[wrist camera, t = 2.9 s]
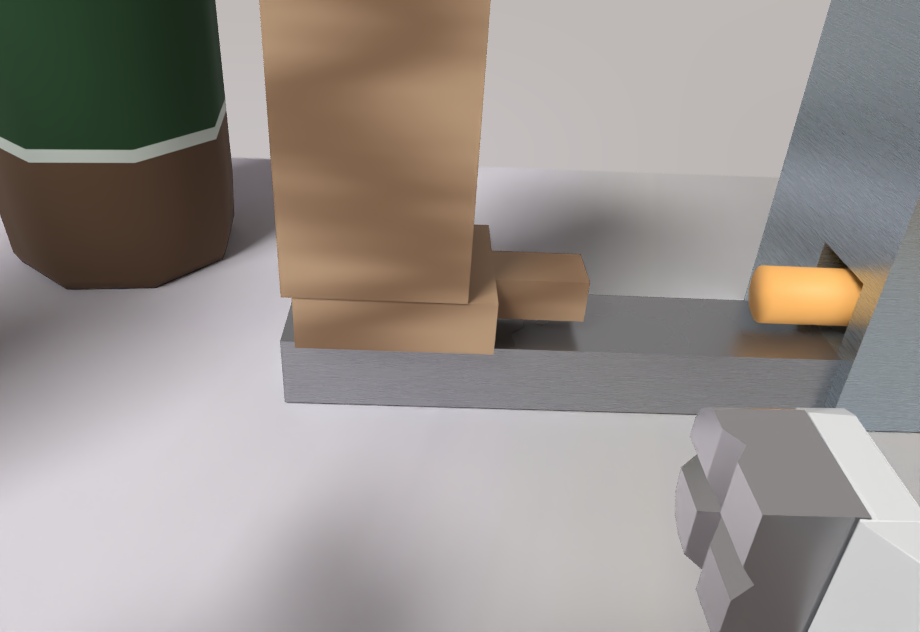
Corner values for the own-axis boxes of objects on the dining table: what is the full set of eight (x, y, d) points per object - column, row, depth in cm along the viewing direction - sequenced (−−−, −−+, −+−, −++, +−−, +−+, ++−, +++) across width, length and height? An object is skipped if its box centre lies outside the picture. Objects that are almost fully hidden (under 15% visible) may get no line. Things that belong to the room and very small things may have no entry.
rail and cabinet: (281, 413, 21) (237, -148, 14) (315, 283, 27) (295, -159, 20) (948, 433, 22) (1209, -84, 15) (840, 303, 28) (993, -112, 21)
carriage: (284, 348, 20) (241, -235, 13) (309, 262, 24) (285, -224, 17) (591, 359, 20) (692, -203, 14) (566, 272, 24) (636, -199, 18)
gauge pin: (763, 334, 22) (779, 283, 21) (743, 303, 23) (758, 254, 22) (939, 340, 22) (962, 290, 21) (910, 309, 23) (930, 262, 22)
